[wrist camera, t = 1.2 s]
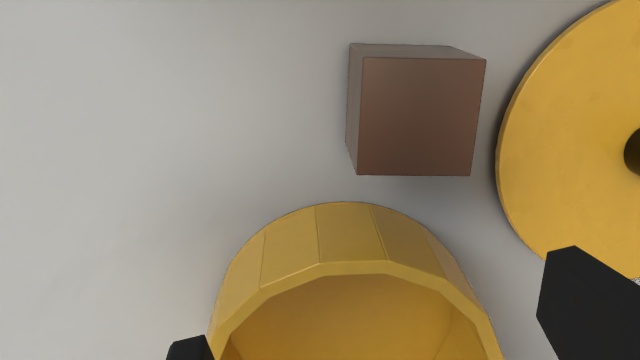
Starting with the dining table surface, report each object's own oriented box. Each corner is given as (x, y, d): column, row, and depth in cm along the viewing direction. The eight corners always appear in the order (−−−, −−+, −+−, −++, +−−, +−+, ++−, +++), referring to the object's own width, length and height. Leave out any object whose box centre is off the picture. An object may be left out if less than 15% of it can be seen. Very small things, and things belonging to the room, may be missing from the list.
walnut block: (450, 45, 21) (487, 59, 17) (439, 143, 22) (470, 176, 18) (349, 43, 21) (363, 56, 17) (344, 142, 22) (356, 175, 18)
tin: (504, 248, 24) (559, 316, 19) (399, 429, 28) (422, 525, 23) (266, 164, 22) (258, 217, 17) (187, 373, 26) (162, 464, 21)
